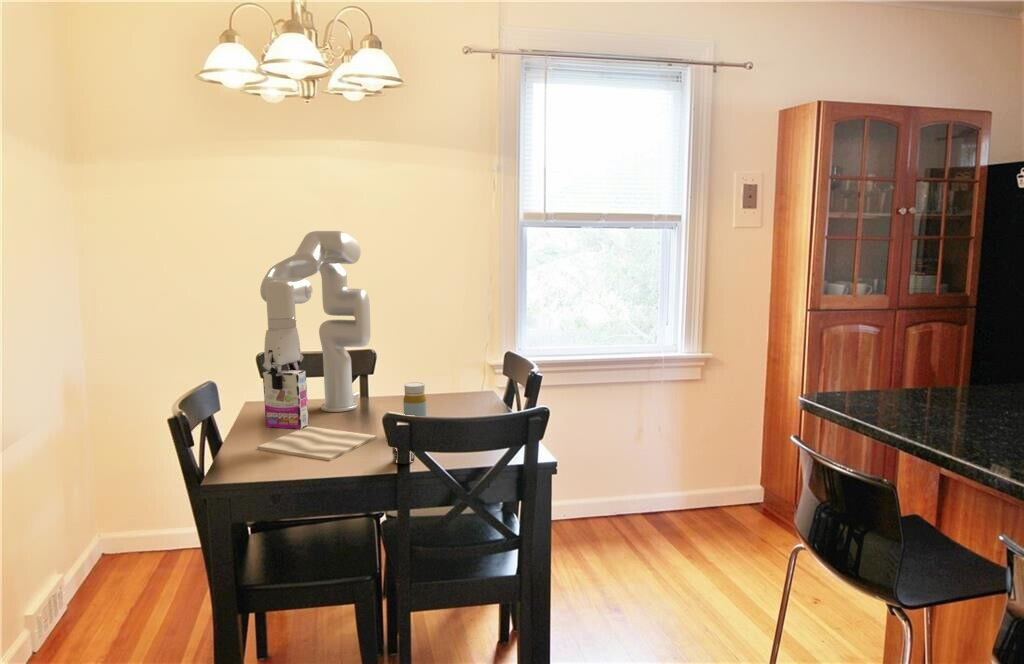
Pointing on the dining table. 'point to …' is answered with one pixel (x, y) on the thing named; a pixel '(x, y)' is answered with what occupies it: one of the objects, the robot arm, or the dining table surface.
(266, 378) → the candy bar box
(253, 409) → the dining table surface
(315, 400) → the dining table surface
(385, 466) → the dining table surface
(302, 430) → the birch board
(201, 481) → the dining table surface
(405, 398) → the bottle
